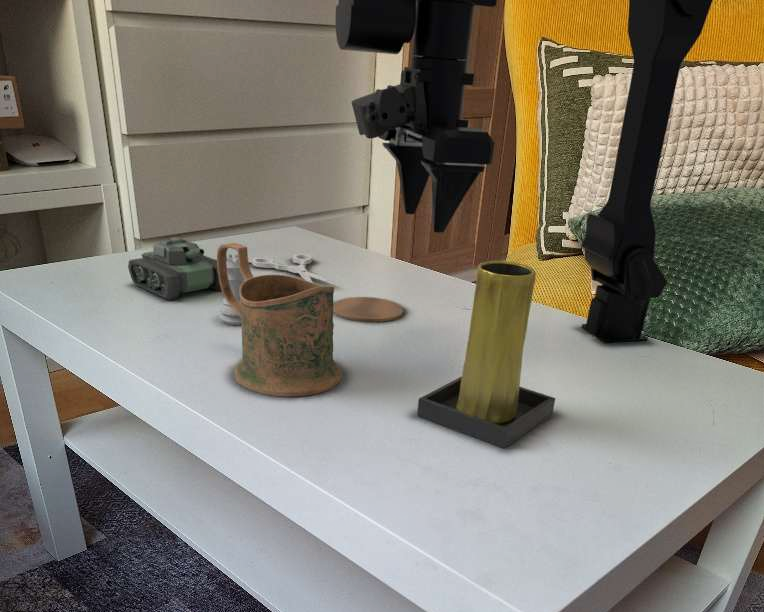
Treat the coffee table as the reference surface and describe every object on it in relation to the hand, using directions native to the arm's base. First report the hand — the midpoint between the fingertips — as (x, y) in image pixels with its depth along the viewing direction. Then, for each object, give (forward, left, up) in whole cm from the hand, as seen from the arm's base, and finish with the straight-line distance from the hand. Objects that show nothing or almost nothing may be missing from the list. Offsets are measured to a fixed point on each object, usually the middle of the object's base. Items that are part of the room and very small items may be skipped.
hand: (423, 222), depth 82 cm
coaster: (+2, -15, -15) cm, 21 cm away
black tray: (-1, +19, -15) cm, 24 cm away
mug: (+18, +3, -15) cm, 23 cm away
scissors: (+8, -33, -15) cm, 36 cm away
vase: (-1, +19, -14) cm, 24 cm away
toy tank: (+26, -28, -15) cm, 40 cm away
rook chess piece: (+20, -13, -15) cm, 28 cm away
